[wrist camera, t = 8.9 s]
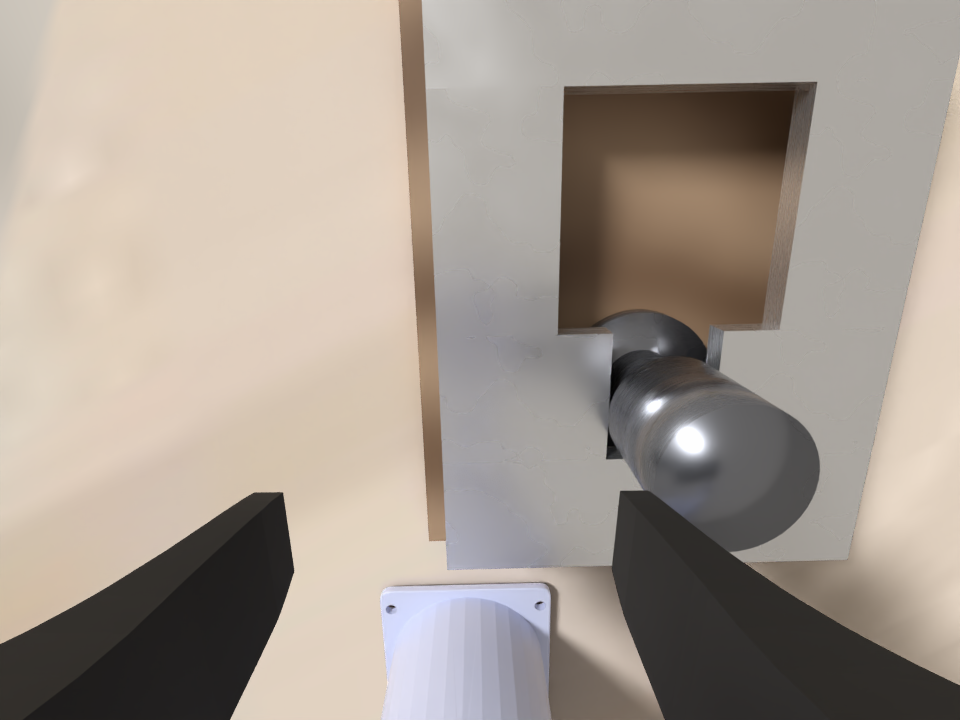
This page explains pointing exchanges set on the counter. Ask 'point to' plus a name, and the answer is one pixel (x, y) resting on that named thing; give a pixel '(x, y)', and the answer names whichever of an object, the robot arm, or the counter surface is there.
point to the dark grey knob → (704, 435)
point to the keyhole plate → (732, 347)
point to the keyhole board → (626, 214)
